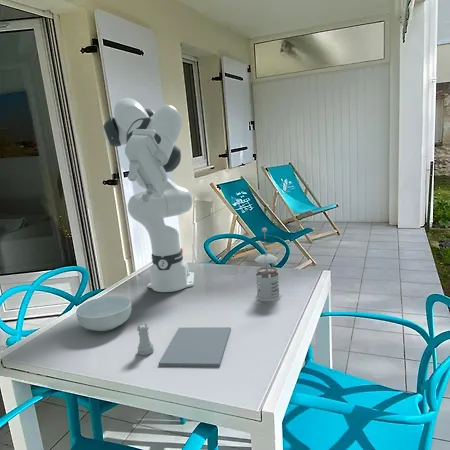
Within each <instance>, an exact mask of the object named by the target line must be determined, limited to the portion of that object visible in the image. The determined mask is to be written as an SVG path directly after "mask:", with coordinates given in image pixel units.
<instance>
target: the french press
mask: <svg viewBox="0 0 450 450" xmlns="http://www.w3.org/2000/svg"><path fill="white" fill-rule="evenodd" d="M261 232H263V233H264V238H266V232H268V229H267V227H262V228H261ZM266 243H267V242H264V248H265V254H261V255H259V256H257V257H256V258H255V259H254V261H255V262H256V263H257V264H262V265H266V266H263V267H259V268H258V269H256V276H255V279H256V289H257V291H256V294H255V296H254V298H255V299H256V300H258V301H260V302H274V301H278V300H280V299H282V297H283V294H282V293H281V292H280V285H279V284H280V281H279V273H278V269H277V268H276V267H274V263H276V262H278V260H279V258H278V257H277V256H275V255H273V254H271V253H270V254H269V253H268V254H267V247H266ZM269 264H271V266H269ZM269 275H270V277H269ZM260 276H261V277H260Z"/></svg>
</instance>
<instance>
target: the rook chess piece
mask: <svg viewBox="0 0 450 450" xmlns="http://www.w3.org/2000/svg"><path fill="white" fill-rule="evenodd" d="M149 329H150V327H149V326H148V324H147V323H146V322H145V323H144V322H142V323H138V325H137V329H136V331H138V336H139V343H138V346H137V353H138V354H139V355H140V356H148V355H150V354H152V353H153V352H154V350H155V348H154V345H153V342H152V341H151V340H150V336H149Z"/></svg>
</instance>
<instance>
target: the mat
mask: <svg viewBox="0 0 450 450" xmlns="http://www.w3.org/2000/svg"><path fill="white" fill-rule="evenodd" d="M231 331H232V327H229V326H227V327H224V326H222V327H218V326H217V327H215V326H213V327H207V326H206V327H205V326H204V327H178V329H177V330H176V332H175V334H174V336H173V337H172V339H171V341H170V343H169V344H168V346H167V347H166V349H165V352H164V353H163V355H162V356H161V358H160V360H159V362H158V367H212V368H213V367H215V368H217V367H219V368H220V367H221V364H222V362H223V358H224V354H225V351H226V348H227V345H228V341H229V338H230V334H231Z"/></svg>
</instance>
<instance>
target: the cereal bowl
mask: <svg viewBox="0 0 450 450" xmlns="http://www.w3.org/2000/svg"><path fill="white" fill-rule="evenodd" d="M75 310H76V312H75V313H76V318H77V321H78V323H79V324H80V325H81V326H82V327H83V328H84V329H86V330H89V331H96V332H108V331H111V330H114V329H116V328H117V327H119V326H122V325H123V324H124V323H125V322H126V321H127V320H128V319H129V318H130V316H131V314H132V301H131V299H129V298H128V297H124V296H118V295H112V296H111V295H110V296H109V295H107V296H102V297H97V298H94V299H91V300H89V301H86V302H84V303H82V304H81V305H80V306H78V308H77V309H75Z"/></svg>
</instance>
